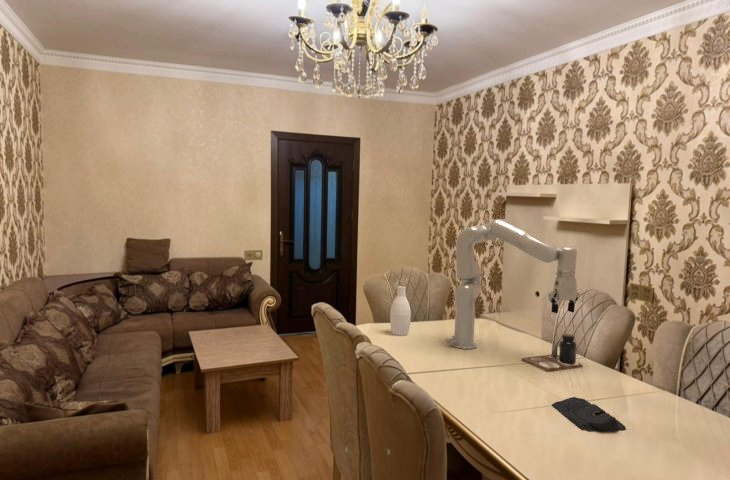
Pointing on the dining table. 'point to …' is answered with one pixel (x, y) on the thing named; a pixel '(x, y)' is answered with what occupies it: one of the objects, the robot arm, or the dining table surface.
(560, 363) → the board
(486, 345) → the dining table surface
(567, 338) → the supplement bottle
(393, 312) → the bottle
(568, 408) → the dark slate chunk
